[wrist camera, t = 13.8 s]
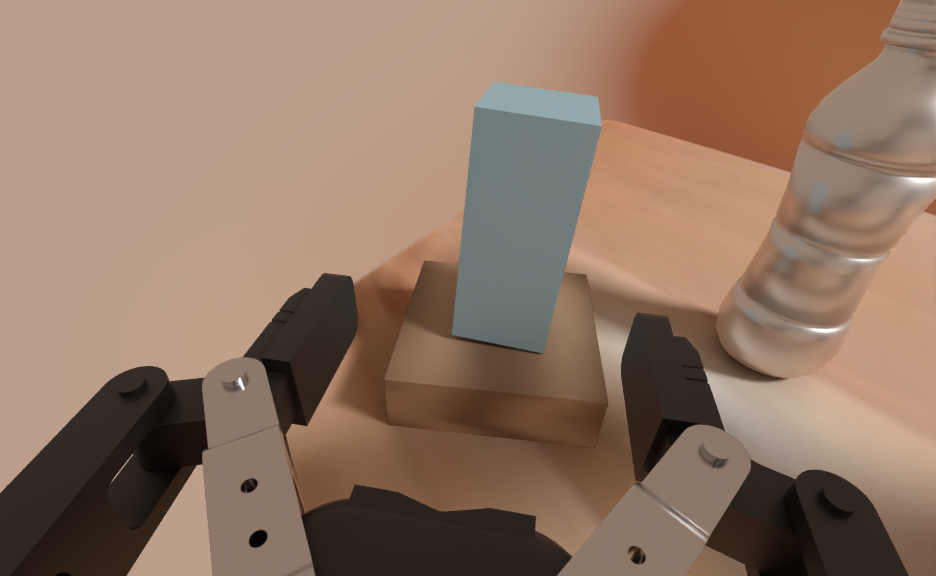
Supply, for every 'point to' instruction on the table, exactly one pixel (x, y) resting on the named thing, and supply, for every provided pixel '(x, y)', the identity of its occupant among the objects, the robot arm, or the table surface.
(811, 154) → the plastic bottle
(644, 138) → the table surface
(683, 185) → the table surface
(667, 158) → the table surface
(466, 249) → the blue block
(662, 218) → the table surface
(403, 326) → the walnut block
